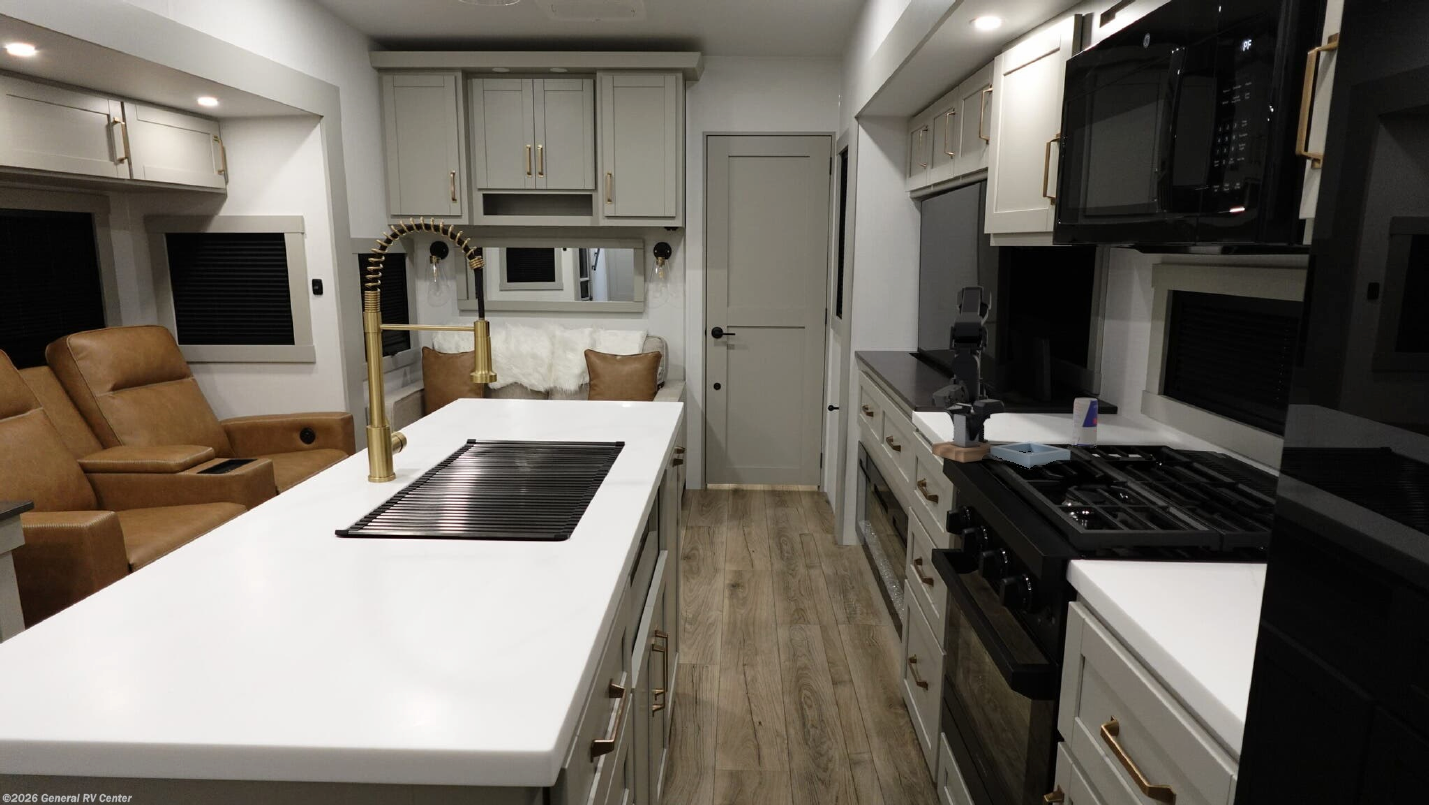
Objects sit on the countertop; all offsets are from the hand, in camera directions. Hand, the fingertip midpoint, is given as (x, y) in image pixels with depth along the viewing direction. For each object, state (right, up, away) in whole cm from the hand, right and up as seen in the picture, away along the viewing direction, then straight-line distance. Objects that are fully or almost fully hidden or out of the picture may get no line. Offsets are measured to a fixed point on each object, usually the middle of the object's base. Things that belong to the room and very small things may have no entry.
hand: (965, 439), depth 188 cm
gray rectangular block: (0, -4, +1) cm, 4 cm away
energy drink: (+31, -3, +7) cm, 32 cm away
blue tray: (+12, -5, -7) cm, 15 cm away
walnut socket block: (0, -4, +1) cm, 4 cm away
